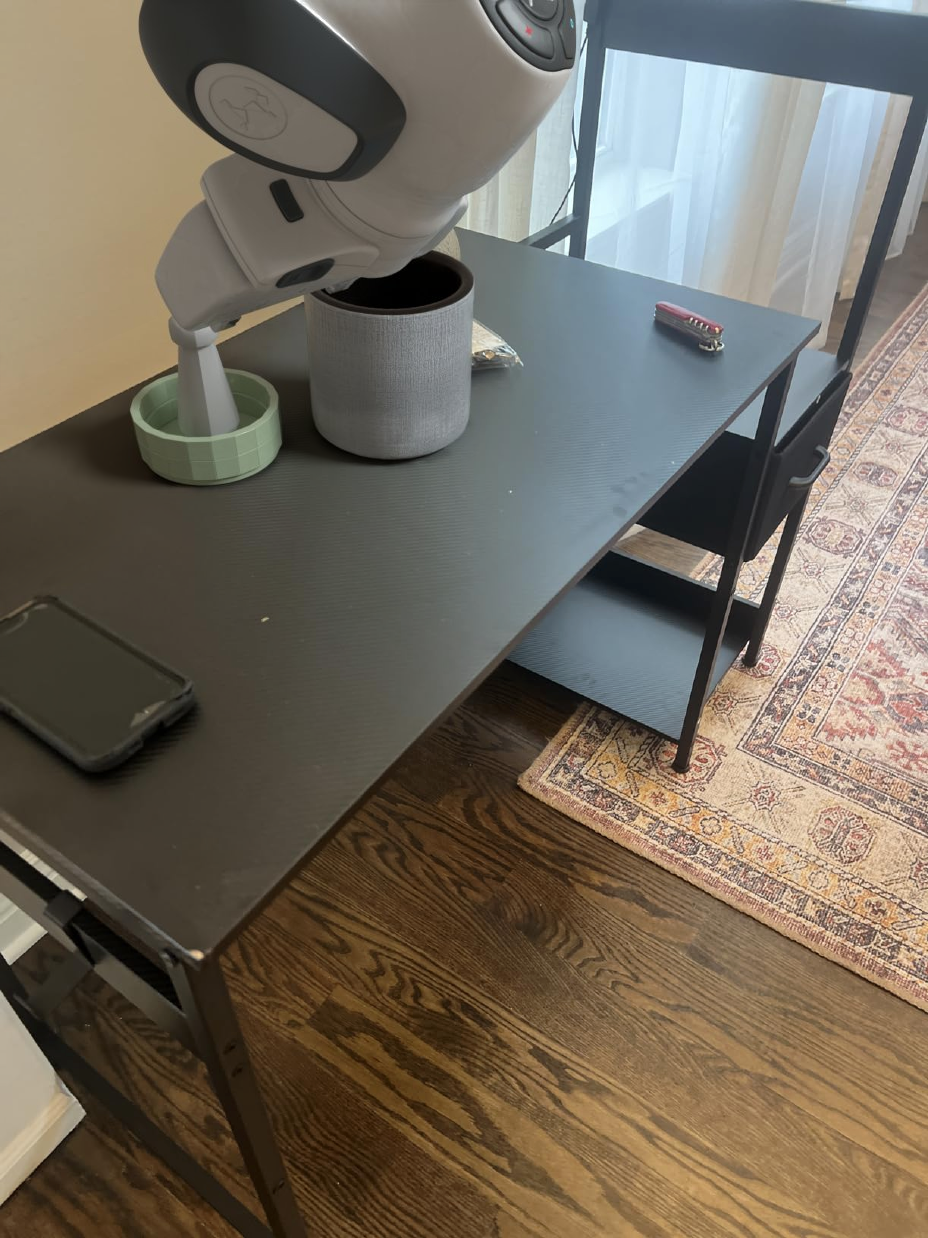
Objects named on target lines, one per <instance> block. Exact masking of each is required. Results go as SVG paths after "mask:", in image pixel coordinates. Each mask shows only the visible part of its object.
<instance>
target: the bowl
mask: <svg viewBox="0 0 928 1238" xmlns="http://www.w3.org/2000/svg"><path fill="white" fill-rule="evenodd" d="M223 369H224V372H225V375H226V377H227V380H228V383H229V386H230V389H231V392H232V395H233V398H234V401H235V404H236V407H237V410H238V413H239V418H240V424H239V426H238V429H237V430H236V431H234V432H231V433H226V434H221V435H215V436H210V437H186V436H185V435H184V434H183V433H182V432H181V430H180V428H179V424H178V419H177V415H178V371H177V372H174V373H171V374H168V375H165V376H163V377H160V378H158V379H156V380H154V381H152V382H151V383H149V384H147V385H146V386H144V387H143V388H142V389H140V390H139V392H138V393H136V395H135V396H134V397H133V399H132V402H131V405H130V408H129V412H130V413H129V414H130V418H131V422H132V426H133V430H134V435H135V438H136V443H137V447H138V451H139V453H140V456H141V459H142V461H144V462H145V463H146V464H147V466H148V467H149V468H150V469H151V471H153V472H154V473H155V474H157V475H158V476H159V477H161V478H164V479H166V480H168V481H171V482H174V483H178V484H182V485H191V486H217V485H218V486H219V485H223V484H230V483H233V482H238V481H241V480H244V479H246V478H249V477H251V476H254V475H255V474H257V473H259V472H261V471H262V470H264V469H265V468H267V467H268V466H269V465H270V464H271V463H272V462H273V461H274V460H275V459H276V457H277V456H278V453H279V451H280V448H281V446H282V445H283V434H284V433H283V423H282V415H281V406H280V397H279V394H278V392H277V390H276V389H275V387H274V386H273V384H271V383H270V382H269V381H268V380H266V379H265V378H263V377H262V376H260V375H258V374H254V373H251V372H249V371H245V370H242V369H234V368H228V367H223Z"/></svg>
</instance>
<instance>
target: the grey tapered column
mask: <svg viewBox="0 0 928 1238" xmlns="http://www.w3.org/2000/svg"><path fill="white" fill-rule="evenodd" d="M167 321H168V332H169V336H170V339H171V341H172V342H173V343H174V344H175V345H177V372H178V415H177V419H178V424H179V428H180V430H181V432H182V433H183V434H184V435H185V436H186V437H210V436H215V435H221V434H226V433H231V432H234V431H236V430H237V429H238V426H239V424H240V418H239V413H238V410H237V407H236V404H235V401H234V398H233V395H232V392H231V389H230V386H229V383H228V380H227V377H226V375H225V372H224V369H223V368H224V365H223V363H222V360H221V358H220V355H219V351H218V349H217V345H216V341H217V340H218V338H219V336H220V332H217V333H215V332H213V331H212V330H211V328H210V326H209V327H206V328H203V329H200V330H197V331H187V330H185V329H183V328H182V327H180V326H179V325H178V323H177V322H176V321H175V319H174V318H173V316H172V315H171V316H170V317H169V319H168V320H167Z"/></svg>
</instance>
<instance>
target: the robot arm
mask: <svg viewBox="0 0 928 1238" xmlns="http://www.w3.org/2000/svg"><path fill="white" fill-rule="evenodd" d="M576 16H577V15H576V10H575V3H574V0H142V1H141V6H140V10H139V13H138V35H139V37H138V38H139V41H140V46H141V49H142V52H143V55H144V57H145V60H146V62H147V64H148V66H149V68H150V70H151V72H152V73H153V76H154V77H155V80H156V81H157V83H158V84H159V86H160V87H161V89H162V90H163V92H164V93H165V94H166V95H167V97H168V98H169V99H170V100H171V101H172V102H173V104H174V105H175V106H176V107H177V108H178V110H179V111H180V112H181V113H182V114H183V115H184V116H185V117H186V118H187V119H188V120H189V121H190V122H192V123H193V125H195V126H196V127H197V128H199V130H201V131H202V132H204V133H205V134H206V135H207V136H209V138H212V139H213V140H214V141H215V142H217V143H219V144H220V145H222V146H223V147H225V148H227V149H228V150H230V151H231V152H233V153H232V154H229V155H228V156H225V157H222V158H221V159H219V160H216V161H215V162H213V163H211V164H210V165H209V166H207V168H205V170H204V172H203V173H202V174H201V175H202V176H201V178H200V181H199V186H200V189H201V192H202V194H203V196H204V199H202V200H201V201H199V202H198V203H197V204H195V205H194V206H193V207H192V208H191V209H190V210H189V211H188V212H186V214H185V215H184V216H183V217H182V218H181V219H180V222H179V223H178V224H177V225H176V227H175V230H174V231H173V233H172V235H171V236H170V238H169V240H168V242H167V243H166V245H165V246H164V247H165V248H164V249H163V252H162V254H161V256H160V257H159V260H158V263H157V264H156V267H155V271H154V281H155V284H156V285H155V286H156V288H157V290H158V292H159V294H160V297H161V298H162V300H163V302H164V304H165V306H166V308H167V310H168V311H169V313H170V315H171V316H173V318H174V319H175V321H176V322H177V323H178V325H179V326H180V327H182V328H183V329H185V330H187V331H197V330H200V329H203V328H206V327H209V326H210V328H211V330H212V331H213V332H215V333H217V332H219V333H220V332H222V331H226V330H228V329H231V328H234V327H236V326H237V323H239V322H240V320H241V319H242V316H244V315H248V314H251V313H253V312H256V311H260V310H263V309H266V308H269V307H271V306H275V305H277V304H281V303H283V302H287V301H290V300H293V299H296V298H298V297H299V298H300V297H302V296H304V295H305V294H308V293H311V292H314V291H317V290H320V289H323V288H325V289H326V291H327V292H328V293H329V294H332V293H335V292H338V291H341V290H344V289H347V288H348V287H349V286H350V285H351V284H352V283H353V282H354V281H355V280H356V279H358V278H360V277H365V278H378V277H384V276H388V275H391V274H394V273H396V272H397V271H399V270H401V269H402V268H403V267H405V266H406V265H407V264H408V263H409V262H410V261H411V260H412V259H414V258H417V257H420V256H422V255H424V254H426V253H428V252H429V251H431V250H432V249H434V248H435V247H436V246H438V245H439V244H440V243H441V242H442V240H443V239H444V238H445V237H446V236H447V235H448V234H449V233H450V231H451V230H452V229H455V227H456V226H457V224H458V223H459V222H460V221H461V219H462V218H463V217H464V215H465V214H466V212H467V210H468V208H469V206H470V205H469V204H470V203H469V200H468V197H467V195H469V194H471V193H473V192H476V191H478V190H479V189H481V188H482V187H484V186H485V185H487V184H488V183H489V182H490V181H491V180H492V179H493V178H494V177H495V176H496V175H497V174H498V173H499V172H500V171H501V170H502V169H503V168H504V167H505V166H506V165H507V164H508V163H509V161H511V159H512V158H513V157H514V156H515V155H516V154H517V153H518V152H519V151H520V150H521V149H522V148H523V146H524V145H525V144H526V143H527V141H528V140H529V139H530V138H531V137H532V136H533V134H534V133H535V132H536V131H537V130H538V128H539V127H540V126H541V124H542V123H543V121H544V120H545V119H546V118H547V116H548V115H549V114H550V112H551V110H552V109H553V107H554V105H555V104H556V103H557V102H558V100H559V98H560V97H561V95H562V93H563V91H564V90H565V88H566V85H568V84H567V83H568V82H569V79H570V77H571V76H572V73H573V70H574V66H575V61H576V54H577V19H576Z"/></svg>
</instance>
